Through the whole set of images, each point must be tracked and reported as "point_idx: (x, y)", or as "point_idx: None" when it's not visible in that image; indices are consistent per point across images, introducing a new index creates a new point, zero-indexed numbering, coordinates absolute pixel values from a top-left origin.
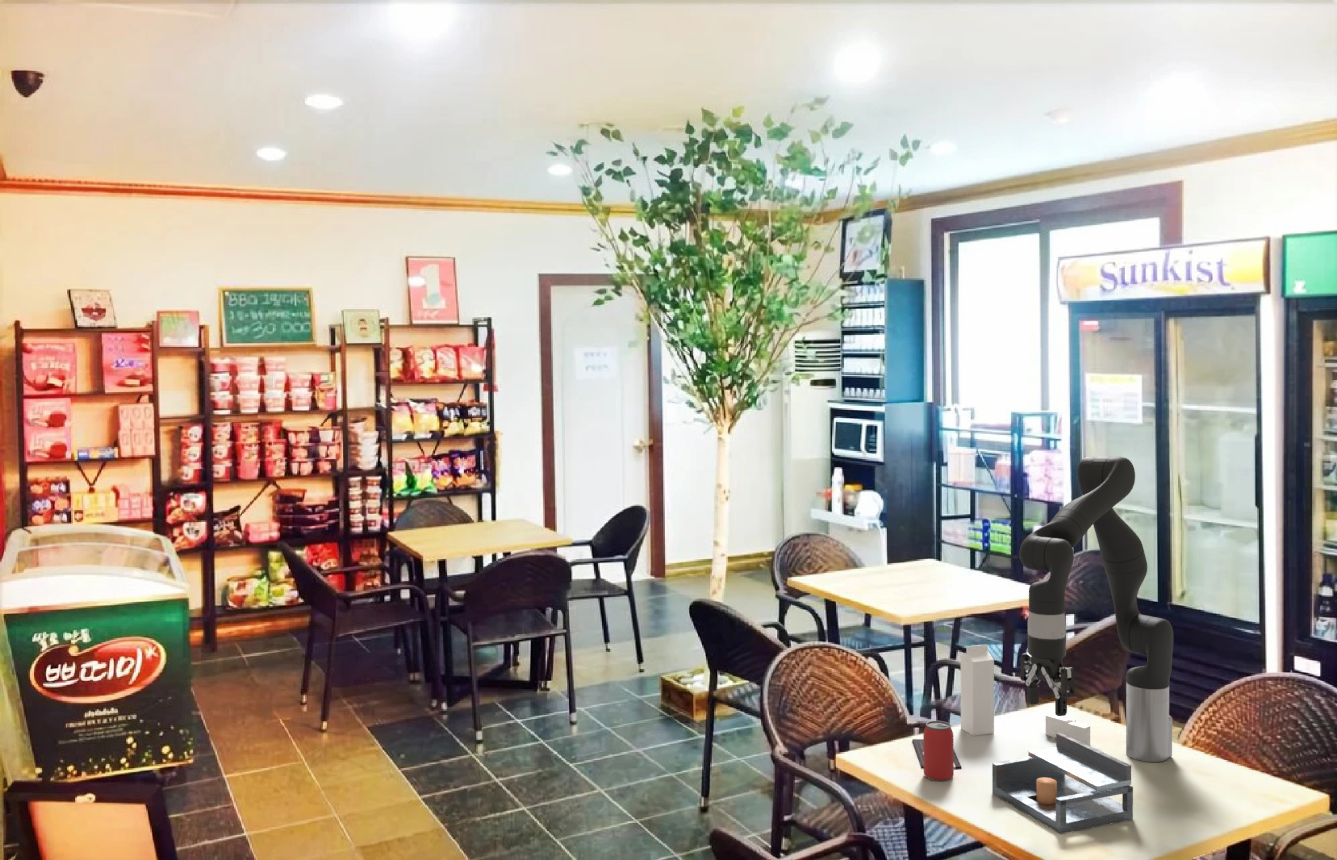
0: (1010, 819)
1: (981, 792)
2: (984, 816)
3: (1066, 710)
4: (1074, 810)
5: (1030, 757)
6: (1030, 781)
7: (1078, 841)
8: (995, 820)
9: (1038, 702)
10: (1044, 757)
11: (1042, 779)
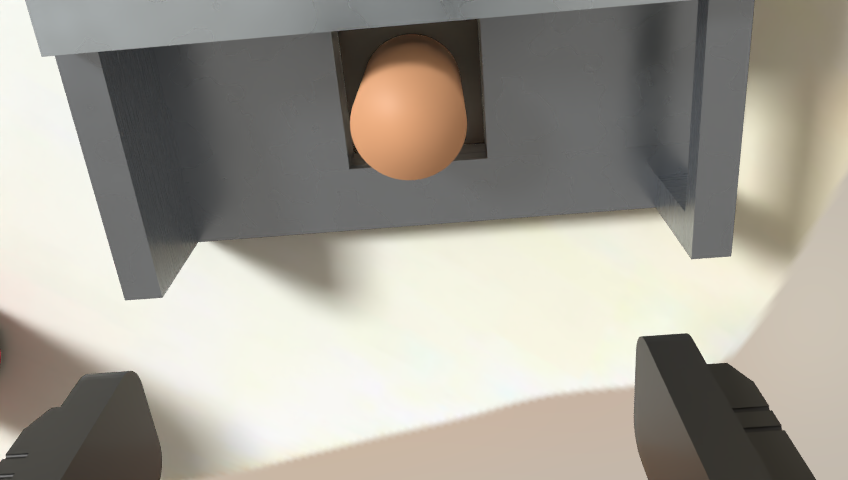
0: (461, 294)
1: None
2: (400, 370)
3: (758, 399)
4: (586, 42)
5: None
6: None
7: (769, 155)
8: (449, 351)
9: (129, 374)
10: (177, 17)
11: (378, 134)
